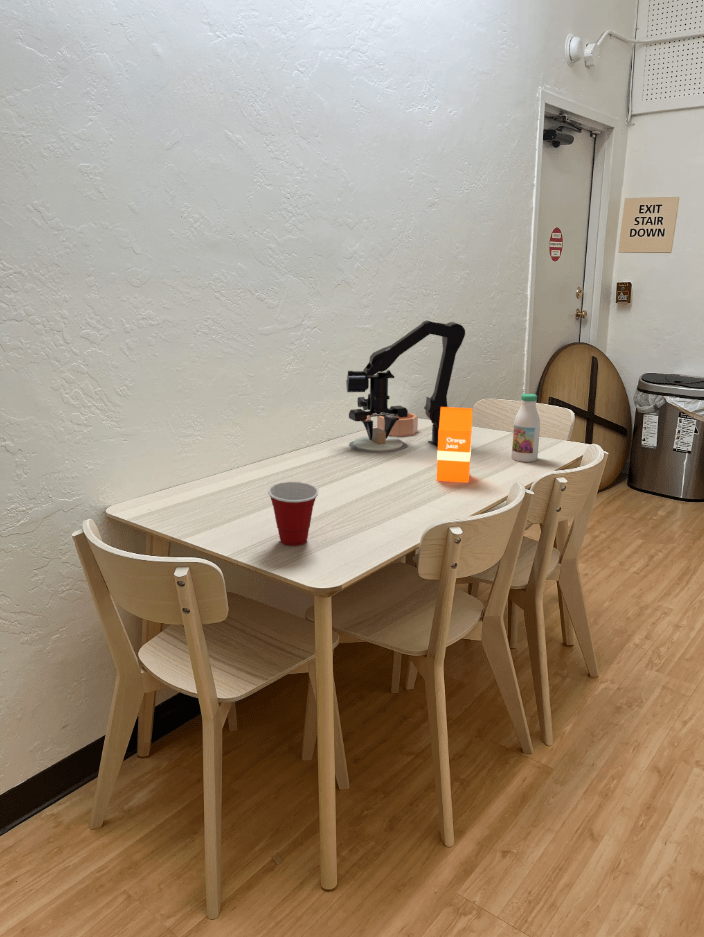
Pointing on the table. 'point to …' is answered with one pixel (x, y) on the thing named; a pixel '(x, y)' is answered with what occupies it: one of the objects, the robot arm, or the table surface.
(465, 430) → the orange juice
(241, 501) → the table surface
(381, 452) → the mat
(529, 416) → the milk bottle
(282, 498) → the plastic cup
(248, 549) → the table surface
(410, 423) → the bowl
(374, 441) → the lid
